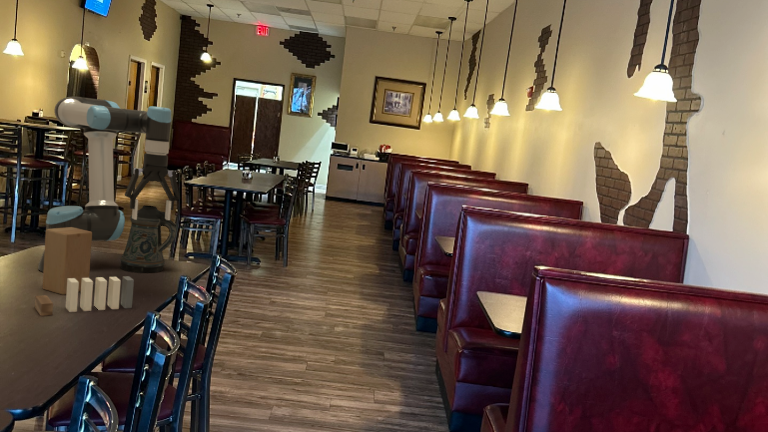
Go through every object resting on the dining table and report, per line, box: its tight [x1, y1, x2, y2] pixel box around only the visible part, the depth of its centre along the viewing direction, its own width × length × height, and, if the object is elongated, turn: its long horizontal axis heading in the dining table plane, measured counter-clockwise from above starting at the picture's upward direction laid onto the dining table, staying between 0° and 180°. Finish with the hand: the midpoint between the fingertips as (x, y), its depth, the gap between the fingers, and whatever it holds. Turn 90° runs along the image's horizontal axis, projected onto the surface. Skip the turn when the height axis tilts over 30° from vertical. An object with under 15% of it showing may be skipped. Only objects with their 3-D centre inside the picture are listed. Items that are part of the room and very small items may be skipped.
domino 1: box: [65, 278, 79, 313], centre depth 194 cm, size 2×5×9 cm, turn 38°
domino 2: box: [79, 277, 94, 312], centre depth 196 cm, size 2×5×9 cm, turn 38°
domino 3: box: [93, 276, 108, 311], centre depth 199 cm, size 2×5×9 cm, turn 38°
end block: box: [34, 294, 54, 317], centre depth 189 cm, size 3×9×4 cm, turn 38°
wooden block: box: [42, 227, 93, 296], centre depth 213 cm, size 10×10×20 cm
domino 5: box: [120, 275, 135, 309], centre depth 203 cm, size 2×5×9 cm, turn 38°
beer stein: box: [120, 205, 177, 274], centre depth 255 cm, size 16×19×25 cm
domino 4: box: [106, 276, 122, 310], centre depth 201 cm, size 2×5×9 cm, turn 38°
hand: (151, 219), depth 218 cm, fingers open, 10 cm apart
